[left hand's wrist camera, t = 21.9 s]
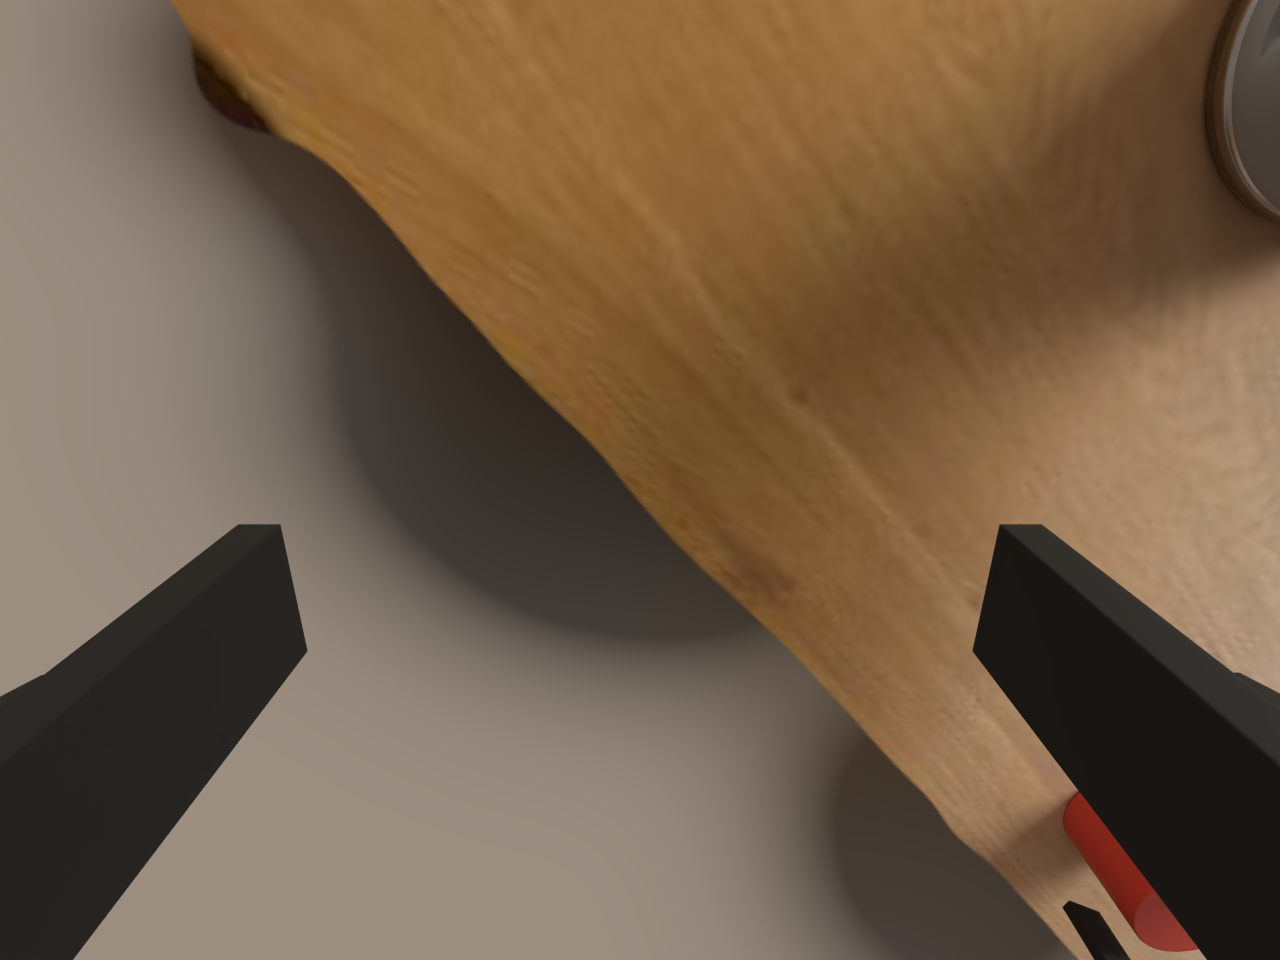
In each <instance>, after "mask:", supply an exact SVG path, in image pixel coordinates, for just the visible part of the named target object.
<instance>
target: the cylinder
mask: <svg viewBox="0 0 1280 960" xmlns="http://www.w3.org/2000/svg"><path fill="white" fill-rule="evenodd" d="M1063 821H1064V828H1065V831H1066V833H1067V835H1068V836H1069V838H1070V839H1071V840H1072V842H1073V843H1074V845H1075V846H1076V848H1077V849H1078V851H1079V852H1080V853H1081V855H1082V856H1083V858H1084V859H1085V861H1086V862H1087V864H1088V865H1089V867H1090V868H1091V869H1092V871H1093V872H1094V874H1095V875H1096V877H1097V878H1098V880H1099V881H1100V883H1101V884H1102V885H1103V887H1104V888H1105V890H1106V891H1107V893H1108V894H1109V896H1110V897H1111V899H1112V900H1113V901H1114V903H1115V904H1116V906H1117V907H1118V909H1119V910H1120V912H1121V913H1122V915H1123V916H1124V917H1125V919H1126V920H1127V922H1128V923H1129V925H1130V926H1131V928H1132V929H1133V930H1134V932H1135V933H1136V935H1137V936H1138V938H1139V939H1140V940H1141V941H1142V942H1144V943H1145V944H1147V945H1148V946H1150V947H1153V948H1155V949H1159V950H1163V951H1171V952H1182V951H1190V950H1196V949H1199V948H1198V947H1197V946H1196V944H1195V943H1194V942H1193V941H1192V939H1191V938H1190V937H1189V935H1188V934H1187V933H1186V931H1185V930H1184V929H1183V927H1182V926H1181V925H1180V923H1179V922H1178V921H1177V919H1176V918H1175V917H1174V916H1173V914H1172V913H1171V912H1170V910H1169V909H1168V908H1167V906H1166V905H1165V904H1164V902H1163V901H1162V900H1161V898H1160V897H1159V896H1158V894H1157V893H1156V892H1155V891H1154V889H1153V888H1152V887H1151V885H1150V884H1149V883H1148V881H1147V880H1146V879H1145V877H1144V876H1143V875H1142V873H1141V872H1140V871H1139V869H1138V868H1137V867H1136V866H1135V864H1134V863H1133V862H1132V860H1131V859H1130V858H1129V856H1128V855H1127V854H1126V852H1125V851H1124V850H1123V848H1122V847H1121V846H1120V844H1119V843H1118V842H1117V841H1116V839H1115V838H1114V837H1113V835H1112V834H1111V833H1110V831H1109V830H1108V829H1107V827H1106V826H1105V825H1104V823H1103V822H1102V821H1101V819H1100V818H1099V817H1098V816H1097V814H1096V813H1095V812H1094V810H1093V809H1092V808H1091V806H1090V805H1089V804H1088V802H1087V801H1086V800H1085V798H1084V797H1083V796H1082V794H1081V793H1080V792H1079V793H1078V794H1077V795H1076V796H1075V797H1074V798H1073V799H1072V800H1071V802H1070V803H1069V805H1068V806H1067V808H1066V811H1065V814H1064V819H1063Z"/></svg>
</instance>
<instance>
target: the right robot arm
mask: <svg viewBox="0 0 1280 960" xmlns="http://www.w3.org/2000/svg"><path fill="white" fill-rule="evenodd" d="M1063 909H1064V910H1065V912H1066V914H1067V915H1068V917H1069V919H1070V920H1071V922H1072V924H1073V925H1074V927H1075V929H1076V930H1077V932H1078V933H1079V935H1080V937H1081V938H1082V940H1083V942H1084V943H1085V945H1086V947H1087V948H1088V950H1089V951H1090V953H1091V955H1092V956H1093V958H1094V960H1130V958H1129V957H1128V955H1127V954H1126V952H1125V951H1124V949H1123V948H1122V946H1121V945H1120V943H1119V942H1118V940H1117V939H1116V937H1115V935H1114V934H1113V932H1112V931H1111V929H1110V928H1109V926H1108V925H1107V923H1106V922H1105V920H1104V919H1103V917H1102V916H1101V914H1100V913H1099V912H1098V911H1095V910H1093V909H1090V908H1087V907H1085V906H1082V905H1080V904H1077V903H1074V902H1072V901H1068V902H1067V903H1066V904H1065V905H1064V906H1063Z"/></svg>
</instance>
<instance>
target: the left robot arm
mask: <svg viewBox="0 0 1280 960" xmlns="http://www.w3.org/2000/svg"><path fill="white" fill-rule="evenodd" d="M1206 123H1207V132H1208V138H1209V143H1210V148H1211V151H1212V154H1213V157H1214V160H1215V163H1216V165H1217V167H1218V170H1219V172H1220V174H1221V176H1222V178H1223V179H1224V181H1225V182H1226V184H1227V185H1228V187H1229V188H1230V189H1231V191H1232V192H1233V193H1234V194H1235V195H1236V196H1237V198H1238V199H1240V200H1241V201H1242V202H1243V203H1244V204H1245V205H1246V206H1247V207H1249V208H1250V209H1252V210H1253V211H1255V212H1256V213H1258V214H1259V215H1261V216H1263V217H1266V218H1268V219H1270V220H1272V221H1275V222H1278V223H1280V0H1235V2H1234V4H1233V6H1232V8H1231V10H1230V12H1229V14H1228V16H1227V19H1226V21H1225V23H1224V26H1223V28H1222V30H1221V33H1220V36H1219V39H1218V42H1217V45H1216V48H1215V51H1214V55H1213V59H1212V63H1211V67H1210V73H1209V79H1208V84H1207V96H1206ZM306 652H307V647H306V642H305V638H304V633H303V628H302V623H301V619H300V614H299V609H298V605H297V600H296V595H295V591H294V586H293V581H292V577H291V572H290V567H289V563H288V558H287V553H286V549H285V544H284V539H283V535H282V530H281V526H280V524H239V525H237V526H236V527H234V528H233V529H232V530H231V531H229V532H228V533H227V534H225V535H224V536H223V537H221V538H220V539H219V540H218V541H216V542H215V543H214V544H212V545H211V546H210V547H209V548H207V549H206V550H205V551H204V552H202V553H201V554H200V555H198V556H197V557H196V558H194V559H193V560H192V561H190V562H189V563H188V564H187V565H185V566H184V567H183V568H181V569H180V570H179V571H178V572H176V573H175V574H174V575H172V576H171V577H170V578H169V579H167V580H166V581H165V582H163V583H162V584H161V585H160V586H158V587H157V588H156V589H154V590H153V591H152V592H150V593H149V594H148V595H147V596H145V597H144V598H143V599H141V600H140V601H139V602H138V603H136V604H135V605H134V606H132V607H131V608H130V609H128V610H127V611H126V612H125V613H123V614H122V615H121V616H119V617H118V618H117V619H116V620H114V621H113V622H112V623H110V624H109V625H108V626H107V627H105V628H104V629H103V630H101V631H100V632H99V633H98V634H96V635H95V636H94V637H92V638H91V639H90V640H88V641H87V642H86V643H85V644H83V645H82V646H81V647H79V648H78V649H77V650H76V651H74V652H73V653H72V654H70V655H69V656H68V657H67V658H65V659H64V660H63V661H61V662H60V663H59V664H57V665H56V666H55V667H54V668H52V669H51V670H50V671H48V672H47V673H46V674H44V675H41V676H39V677H37V678H35V679H33V680H31V681H30V682H28V683H26V684H24V685H22V686H20V687H18V688H16V689H14V690H12V691H10V692H8V693H6V694H4V695H2V696H1V697H0V960H73V959H74V958H75V956H76V955H77V954H78V952H79V951H80V950H81V948H82V947H83V946H84V944H85V943H86V942H87V941H88V939H89V938H90V937H91V935H92V934H93V933H94V931H95V930H96V929H97V927H98V926H99V925H100V923H101V922H102V921H103V919H104V918H105V917H106V916H107V914H108V913H109V912H110V910H111V909H112V908H113V906H114V905H115V904H116V902H117V901H118V900H119V898H120V897H121V896H122V894H123V893H124V892H125V891H126V889H127V888H128V887H129V885H130V884H131V883H132V881H133V880H134V879H135V877H136V876H137V875H138V873H139V872H140V871H141V869H142V868H143V867H144V866H145V864H146V863H147V862H148V860H149V859H150V858H151V856H152V855H153V854H154V852H155V851H156V850H157V848H158V847H159V846H160V844H161V843H162V842H163V840H164V839H165V838H166V837H167V835H168V834H169V833H170V831H171V830H172V829H173V827H174V826H175V825H176V823H177V822H178V821H179V819H180V818H181V817H182V816H183V814H184V813H185V812H186V810H187V809H188V807H189V806H190V805H191V804H192V802H193V801H194V800H195V798H196V797H197V796H198V794H199V793H200V792H201V790H202V789H203V788H204V787H205V785H206V784H207V783H208V781H209V780H210V779H211V777H212V776H213V775H214V773H215V772H216V771H217V769H218V768H219V767H220V766H221V764H222V763H223V762H224V760H225V759H226V758H227V756H228V755H229V754H230V752H231V751H232V750H233V748H234V747H235V746H236V744H237V743H238V742H239V741H240V739H241V738H242V737H243V735H244V734H245V733H246V731H247V730H248V729H249V727H250V726H251V725H252V723H253V722H254V721H255V719H256V718H257V717H258V716H259V714H260V713H261V711H262V710H263V709H264V708H265V706H266V705H267V704H268V702H269V701H270V700H271V698H272V697H273V696H274V694H275V693H276V692H277V690H278V689H279V688H280V687H281V685H282V684H283V683H284V681H285V680H286V679H287V677H288V676H289V675H290V673H291V672H292V671H293V669H294V668H295V667H296V665H297V664H298V663H299V662H300V660H301V659H302V658H303V656H304V655H305V654H306ZM973 652H974V654H975V655H976V656H977V658H978V659H979V660H980V662H981V663H982V664H983V666H984V667H985V668H986V669H987V671H988V672H989V673H990V675H991V676H992V677H993V679H994V680H995V681H996V683H997V684H998V685H999V687H1000V688H1001V689H1002V691H1003V692H1004V693H1005V694H1006V696H1007V697H1008V698H1009V700H1010V701H1011V702H1012V704H1013V705H1014V706H1015V708H1016V709H1017V710H1018V712H1019V713H1020V714H1021V716H1022V717H1023V718H1024V719H1025V721H1026V722H1027V723H1028V725H1029V726H1030V727H1031V729H1032V730H1033V731H1034V733H1035V734H1036V735H1037V737H1038V738H1039V739H1040V741H1041V742H1042V743H1043V744H1044V746H1045V747H1046V748H1047V750H1048V751H1049V752H1050V754H1051V755H1052V756H1053V758H1054V759H1055V760H1056V762H1057V763H1058V764H1059V766H1060V767H1061V768H1062V769H1063V771H1064V772H1065V773H1066V775H1067V776H1068V777H1069V779H1070V780H1071V781H1072V783H1073V784H1074V785H1075V787H1076V788H1077V789H1078V791H1079V792H1080V793H1081V794H1082V796H1083V797H1084V798H1085V800H1086V801H1087V802H1088V804H1089V805H1090V806H1091V808H1092V809H1093V810H1094V812H1095V813H1096V814H1097V816H1098V817H1099V818H1100V819H1101V821H1102V822H1103V823H1104V825H1105V826H1106V827H1107V829H1108V830H1109V831H1110V833H1111V834H1112V835H1113V837H1114V838H1115V839H1116V841H1117V842H1118V843H1119V844H1120V846H1121V847H1122V848H1123V850H1124V851H1125V852H1126V854H1127V855H1128V856H1129V858H1130V859H1131V860H1132V862H1133V863H1134V864H1135V866H1136V867H1137V868H1138V869H1139V871H1140V872H1141V873H1142V875H1143V876H1144V877H1145V879H1146V880H1147V881H1148V883H1149V884H1150V885H1151V887H1152V888H1153V889H1154V891H1155V892H1156V893H1157V894H1158V896H1159V897H1160V898H1161V900H1162V901H1163V902H1164V904H1165V905H1166V906H1167V908H1168V909H1169V910H1170V912H1171V913H1172V914H1173V916H1174V917H1175V918H1176V919H1177V921H1178V922H1179V923H1180V925H1181V926H1182V927H1183V929H1184V930H1185V931H1186V933H1187V934H1188V935H1189V937H1190V938H1191V939H1192V941H1193V942H1194V943H1195V944H1196V946H1197V947H1198V948H1199V950H1200V951H1201V952H1202V954H1203V955H1204V956H1205V958H1206V959H1207V960H1280V693H1278V692H1276V691H1274V690H1272V689H1270V688H1268V687H1266V686H1264V685H1262V684H1260V683H1258V682H1256V681H1254V680H1252V679H1250V678H1249V677H1247V676H1245V675H1243V674H1241V673H1233V672H1232V671H1230V670H1229V669H1228V668H1226V667H1225V666H1224V665H1223V664H1221V663H1220V662H1219V661H1217V660H1216V659H1215V658H1214V657H1212V656H1211V655H1210V654H1208V653H1207V652H1206V651H1204V650H1203V649H1202V648H1201V647H1199V646H1198V645H1197V644H1195V643H1194V642H1193V641H1192V640H1190V639H1189V638H1188V637H1186V636H1185V635H1184V634H1183V633H1181V632H1180V631H1179V630H1177V629H1176V628H1175V627H1173V626H1172V625H1171V624H1170V623H1168V622H1167V621H1166V620H1164V619H1163V618H1162V617H1161V616H1159V615H1158V614H1157V613H1155V612H1154V611H1153V610H1152V609H1150V608H1149V607H1148V606H1146V605H1145V604H1144V603H1142V602H1141V601H1140V600H1139V599H1137V598H1136V597H1135V596H1133V595H1132V594H1131V593H1130V592H1128V591H1127V590H1126V589H1124V588H1123V587H1122V586H1121V585H1119V584H1118V583H1117V582H1115V581H1114V580H1113V579H1111V578H1110V577H1109V576H1108V575H1106V574H1105V573H1104V572H1102V571H1101V570H1100V569H1099V568H1097V567H1096V566H1095V565H1093V564H1092V563H1091V562H1090V561H1088V560H1087V559H1086V558H1084V557H1083V556H1082V555H1080V554H1079V553H1078V552H1077V551H1075V550H1074V549H1073V548H1071V547H1070V546H1069V545H1068V544H1066V543H1065V542H1064V541H1062V540H1061V539H1060V538H1059V537H1057V536H1056V535H1055V534H1053V533H1052V532H1051V531H1049V530H1048V529H1047V528H1046V527H1044V526H1043V525H1042V524H1000V525H999V530H998V535H997V539H996V544H995V549H994V553H993V558H992V563H991V567H990V572H989V577H988V581H987V586H986V591H985V595H984V600H983V605H982V609H981V614H980V619H979V623H978V628H977V633H976V637H975V642H974V647H973Z"/></svg>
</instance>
